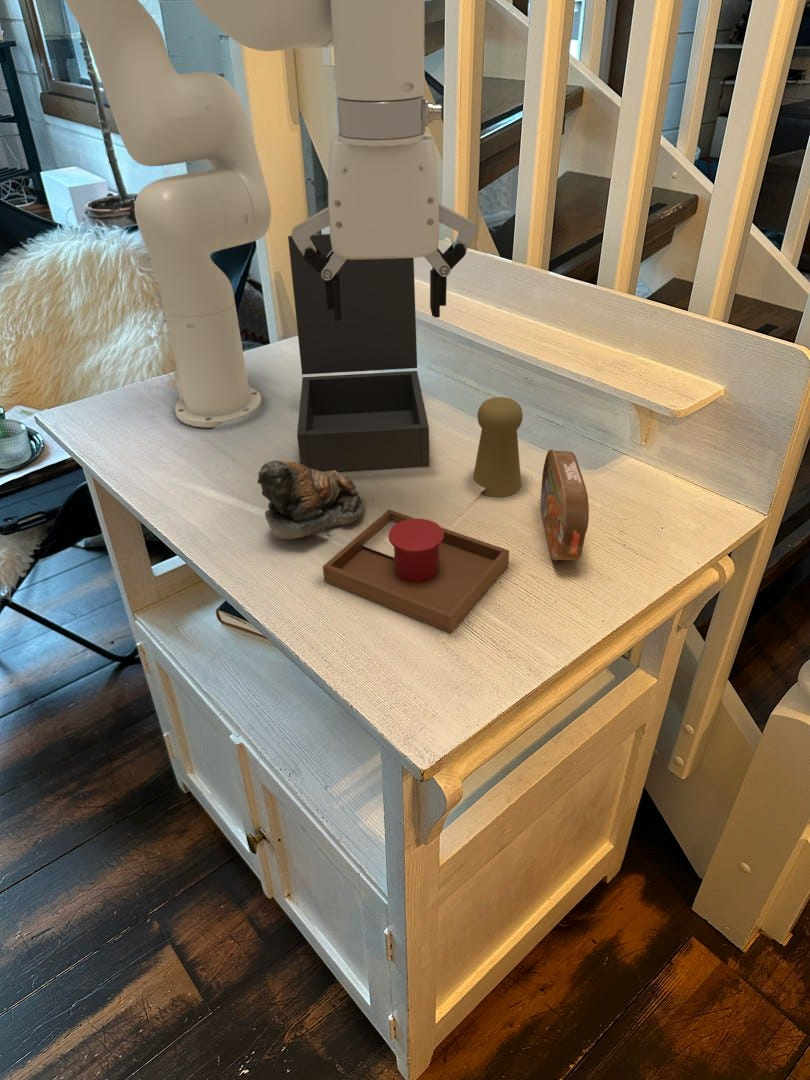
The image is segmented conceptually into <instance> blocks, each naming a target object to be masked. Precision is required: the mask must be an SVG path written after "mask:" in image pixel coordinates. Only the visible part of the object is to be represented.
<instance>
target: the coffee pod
mask: <svg viewBox="0 0 810 1080" xmlns="http://www.w3.org/2000/svg"><path fill="white" fill-rule="evenodd" d="M441 527H442V526H441V525H439V523H437V522H435V521H433V520H429V519H426V518H416V517H415V519H407V520H403V521H401V522H399V523H395V524H394V525H393V526H392V527H391V528H390V530H389V531H388V541H389V542H390V544H391V545H392V546H393V553H394V558H395V571H396V574H397V575H398V576H399V577H400V578H401V579H403V580H405V581H409V582H425V581H428V580H430V579H432V578H434V577H435V576H436V575H437V573H438V571H439V545H440V544H441V543H442V541H443V539H444V532H443V529H442V528H443V527H442V528H441Z"/></svg>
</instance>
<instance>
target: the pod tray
mask: <svg viewBox="0 0 810 1080" xmlns="http://www.w3.org/2000/svg"><path fill="white" fill-rule="evenodd" d="M407 519H416V517H412V516H409V515H407V514H404V513H401V512H398V511H394V510H391V509H387V511H385V512H384V513H383V514H382V515H381V516H379V517H378V518H376V520H375V521H374V522H372V523H371V524H370V525H369V526H367V528H365V529H364V530H363V531H362V532H361V533H360V534H358V535H357V536H356V537H355V538H353V539H352V540H351V542H349V543H348V544H347V545H346V546H344V547H343V548H342V549H341V550H339V552H337V553H336V554H335V555H334V556H333V557H332V558H330V560H328V561H327V562H326V563H325V564H324V565H322V572H323V581H324V582H325V583H327V584H330V585H332V586H336V587H337V588H340V589H342V590H345V591H347V592H350V593H352V594H355V595H357V596H359V597H362V598H365V599H367V600H369V601H372V602H374V603H376V604H379V605H382V606H384V607H385V608H389V609H391V610H394V611H396V612H398V613H401V614H404V615H406V616H408V617H411V618H413V619H416V620H418V621H420V622H423V623H425V624H427V625H429V626H432V627H435V628H437V629H439V630H443V631H445V632H447V633H449V634H451V633H452V632H453V631H454V630H455V628H456V627H457V626H458V625H459V624H460V622H461V621H462V620H463V619H464V618H465V617H466V616H467V614H468V613H470V611H471V610H472V609H473V607H474V606H475V605H477V603H478V602H479V601H480V600H481V598H482V597H483V596H484V595H485V593H486V592H487V591H488V590H489V589H490V588H491V586H492V585H493V584H494V583H495V582H496V580H498V578H499V577H500V576H501V575H502V573H503V572H504V571H505V570H506V568H508V566H509V562H510V558H509V557H510V550H509V549H506V548H503V547H501V546H497V545H495V544H491V543H489V542H486V541H483V540H480V539H477V538H474V537H471V536H467V535H465V534H462V533H459V532H456V531H453V530H451V529H447V528H445V527H442V526H440V527H441V528H442V529H443V532H444V539H443V541H442V543H441V544H440V545H439V571H438V573H437V575H436V576H435V577H434V578H432V579H430V580H428V581H425V582H409V581H405V580H403V579H401V578H400V577H399V576H398V575H397V574H396V571H395V556H394V557H393V556H392V555H388V554H385V553H383V552H380V551H377V550H375V549H373V548H369V547H367V546H365V544H366V543H368V541H370V540H371V539H372V538H373V537H374V536H375V535H377V534H378V533H379V532H380V531H381V530H382V529H383V528H385V527H386V526H387V525H388V524H389V523H390V522H392V523H395V524H397V523H399V522H401V521H403V520H407Z"/></svg>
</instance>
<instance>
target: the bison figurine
mask: <svg viewBox="0 0 810 1080" xmlns="http://www.w3.org/2000/svg"><path fill="white" fill-rule="evenodd" d="M257 475H258V478H257V484H259V485H260V487H261V495H262V496H263V497H265V498H266V499H267V500H268V501H269V502H268V505H267V506H268V510H266V511H264V517H265V520H266V522H267V524H268V526H269V528H270V531H271V532H272V534H273V535H274V537H277V538H279V539H283V540H295V539H301V538H304V537H308V536H311V535H312V536H313V535H315V534H319V533H322V532H324V531H325V530H328V529H330V528H333V527H338V526H347V525H352V524H353V523H355V521H357V520H358V519H359V518H360V517H361V516H362V515H363V512H364V510H365V505H366V503H365V499H364V498H363V497H361V495H360V494H359V492H358V491H357V490H356V489H357V487H356V485H355V484H354V482H353V481H352V479H350V478H349V477H348V476H347V475H346V474H344V473H342V472H337V471H335V470H333V471H326V472H321V471H318V470H314V469H310V468H307V467H306V466H304V465H301V463H298V462H296V461H286V460H285V461H280V460H271V461H268V462H265V463H264V464H263V465H262V466H261V467H260V470H259V471H258V474H257Z"/></svg>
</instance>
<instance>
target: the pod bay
mask: <svg viewBox="0 0 810 1080" xmlns="http://www.w3.org/2000/svg"><path fill="white" fill-rule="evenodd" d="M300 388H301V389H300V398H299V400H300V401H299V412H298V423H297V431H296V437H297V445H298V446H297V447H298V453H299V460H300V461H299V462H300V464H301V465H304V466H306V467H307V468H310V469H314V470H318V471H321V472H326V471H333V470H335V471H337V472H339V473H347V472H349V473H350V472H363V471H379V470H380V471H381V470H395V469H396V470H397V469H412V468H427V467H429V468H430V427H429V421H428V416H427V411H426V407H425V402H424V397H423V393H422V388H421V382H420V378H419V373H418V370H406V371H390V372H389V371H388V372H386V371H385V372H372V373H368V372H367V373H353V374H351V373H350V374H336V375H335V374H333V375H316V376H302V379H301V387H300Z"/></svg>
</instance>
